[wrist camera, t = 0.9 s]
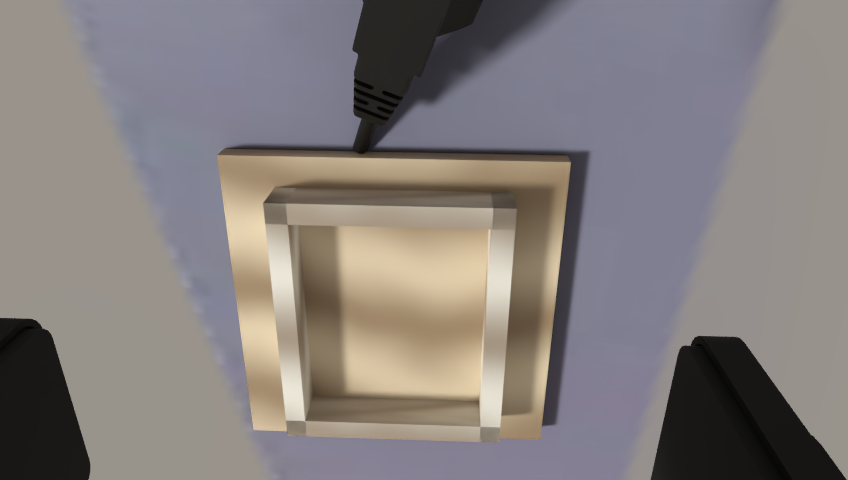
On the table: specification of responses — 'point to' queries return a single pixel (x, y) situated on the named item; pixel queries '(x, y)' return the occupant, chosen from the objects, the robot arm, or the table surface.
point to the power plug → (397, 52)
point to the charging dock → (395, 289)
